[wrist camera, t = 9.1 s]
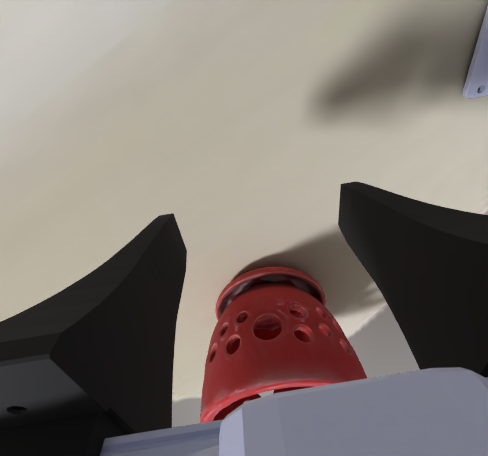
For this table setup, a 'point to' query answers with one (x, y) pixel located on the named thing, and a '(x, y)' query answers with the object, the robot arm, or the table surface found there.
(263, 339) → the plant pot
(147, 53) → the table surface
